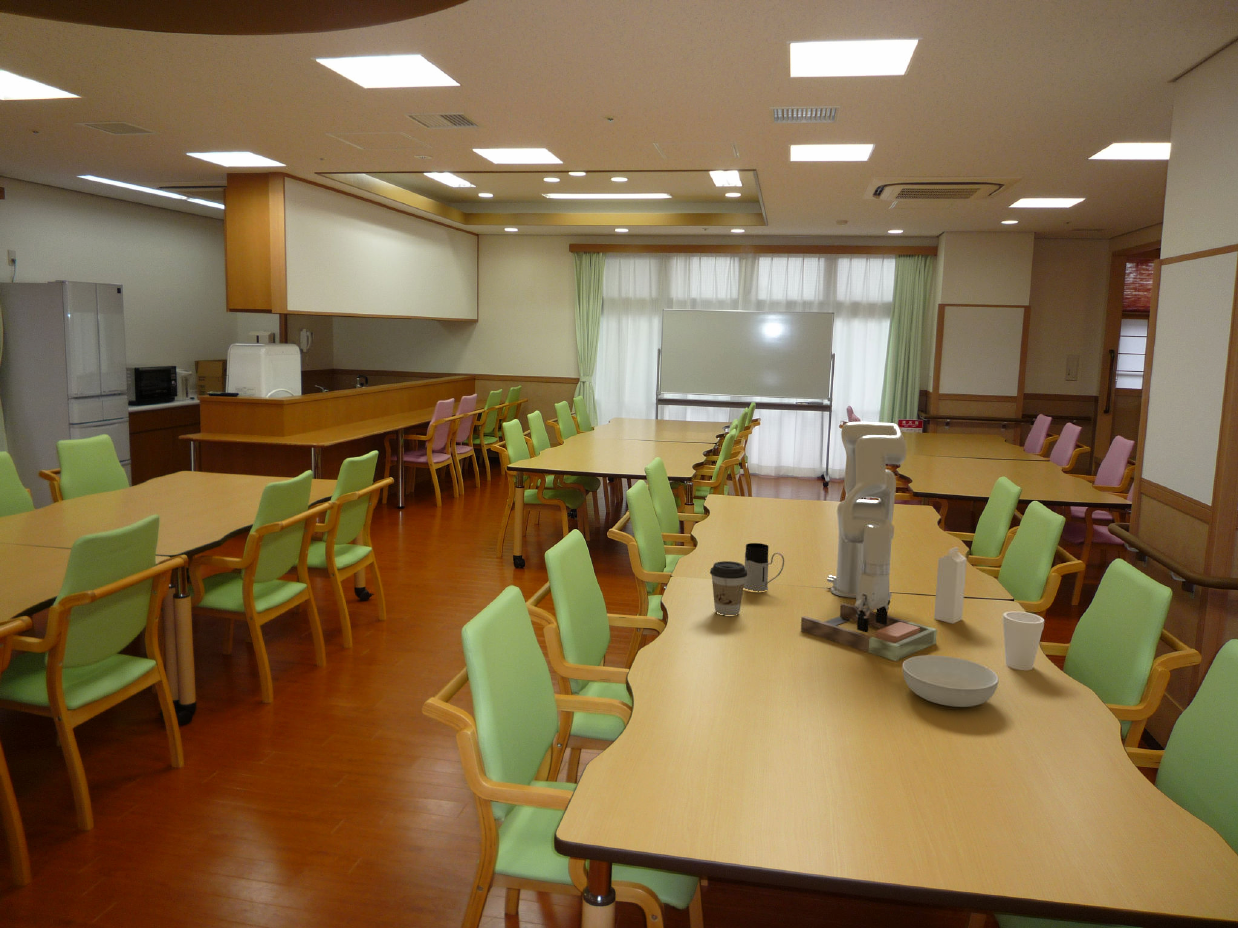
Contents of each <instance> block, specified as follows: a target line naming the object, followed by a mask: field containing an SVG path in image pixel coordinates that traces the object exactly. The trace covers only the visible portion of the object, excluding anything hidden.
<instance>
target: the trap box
mask: <svg viewBox="0 0 1238 928" xmlns="http://www.w3.org/2000/svg"><path fill="white" fill-rule="evenodd" d="M863 611H864V613H865V612H866V610H863ZM839 612H840V613H839V616H836V617H834V618H831V619H828V620H825V621H822V620H819V619H817V618H813V617H809V616H806V615H803V616H801V622H800V631H801V632H804V633H808V634H810V635H814V636H815V637H819V638H822V639H825V640H829V641H832V642H836V643H838V644H841V645H844V646H847V647H851V648H853V649H857V650H859V651H864V652H866V653H869V654H873V655H875V656H878V657H881V658H884V659H888V660H891V661H894V662H897V661H899V660H901V659H902V660H903V659H904V658H906V657H908V656H911V655H913V654H916V653H917V652H919V651H921V650H924V649H926V648H928V647H931V646H933V645H935V644H937V635H938V629H937V628H934V627H929V626H927V625H923V624H919V623H915V622H912V621H909V620H906V619H902V618H898V617H894V616H891V615H888V614H887V624H886V625H883V624H880V623H877V622H876V611H874V610H872V611H870V613H869V615H868V618H869V627H873V628H876V629H878V630H880V629H882V628H885V627H888V626H890V625H893V624H895V623H898V622H903V623H906V624H910V625H913V626H917V627H920V632H919V634H916V635H914V636H911V637H909V638H907V639H904V640H902V641H900V642H897V643H895V644H894V643H891V642H888V641H884V640H881V639H878V638H876V636H875V637H874V636H871V635H869V634H868V635H867V634H865V633H861V632H858V631H854V630H851V629H849V628H848V629H847V628H845V627H841V626H839V625H842V624H845V623H848V622H851V621H852V622H856V623H857V620H858V617H857V613H856V609H855V605H852V604H847V603H845V602H843V603H840V609H839Z"/></svg>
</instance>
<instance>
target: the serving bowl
mask: <svg viewBox="0 0 1238 928" xmlns="http://www.w3.org/2000/svg"><path fill="white" fill-rule="evenodd" d="M902 675H903V678H904V681H905V683H906V684H907V685H906V686H908V688H909V689H910V690H911V691H912V692H914V693H915V694H916V695H917V696H919V697H920V698H923V699H924V700H926V701H929V702H931V703H933V704H934V703H935V704H938V705H943V706H946V707H947V706H948V707H956V708H957V707H958V708H966V707H975V706H978V705H981V704H984V703H986V702H987V701H988V700H990V699H991V698H992V697H993V696H994V694H995V693H996V691H997V688H998V685H999V676H998V674H997V673H996V672H995V671H994V670H992V669H990V668H989V667H987V666H985V665H983V664H980V663H977V662H975V661H971V660H968V659H965V658H964V659H963V658H959V657H955V656H946V655H932V654H930V655H929V654H928V655H927V654H926V655H917V656H912V657H909V658H907V659H906V660H904V661H903V662H902Z"/></svg>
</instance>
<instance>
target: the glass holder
mask: <svg viewBox="0 0 1238 928" xmlns="http://www.w3.org/2000/svg"><path fill="white" fill-rule="evenodd" d="M776 555H779V556H781V558H782V564H781V569H780V570H779V572H778V573H777V575H776V576H774V577H773V578H771V579H770V580H769V579H768V578H769V565H772V564H773V560H774V556H776ZM784 566H785V557H784V555H783V554H782V553H780V552H775V553H773V554H772V555H771V558H770V562H769V545H768V544H765V543H762V542H761V543H759V542H749V543H746V544H745V552H744V567H745V569H746V570H747V576H746V577H745V583H744V588H745V589H748V590H753V591H758V592H759V591H765V590H768V589H769V586H768V585H769V583H770V582H772V581H774V580H775V579H776V578H778V577H779V576H780V575H781V574H782V571H783V569H784Z"/></svg>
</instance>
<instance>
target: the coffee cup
mask: <svg viewBox="0 0 1238 928" xmlns="http://www.w3.org/2000/svg"><path fill="white" fill-rule="evenodd" d="M709 574H710V575H711V580H712V581H711V582H712V590H713V591H712V592H713V594H712V595H713V602H714V605H713V606H714V610H715V613H716V612H718V613H720V614H723V615H736V614H738V613H739V614H740V611H741V605H742V599H743V594H744V590H743V588H744V583H745V577H746V576H747V570H746V569H745V564H743V563H741V562H737V561H731V560H730V561H727V560H721V561H717V562H714V563H713V566H712V567H711V568H710V571H709ZM739 614H738V615H739Z"/></svg>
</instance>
